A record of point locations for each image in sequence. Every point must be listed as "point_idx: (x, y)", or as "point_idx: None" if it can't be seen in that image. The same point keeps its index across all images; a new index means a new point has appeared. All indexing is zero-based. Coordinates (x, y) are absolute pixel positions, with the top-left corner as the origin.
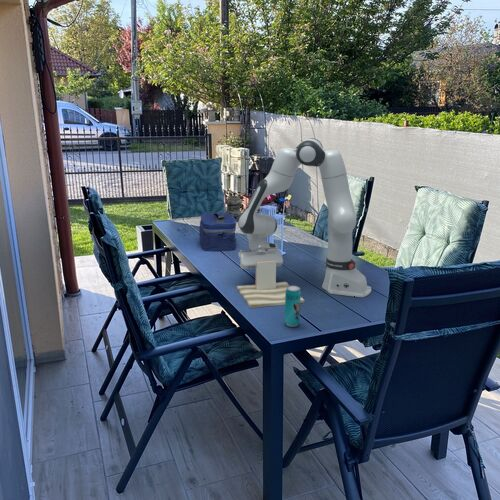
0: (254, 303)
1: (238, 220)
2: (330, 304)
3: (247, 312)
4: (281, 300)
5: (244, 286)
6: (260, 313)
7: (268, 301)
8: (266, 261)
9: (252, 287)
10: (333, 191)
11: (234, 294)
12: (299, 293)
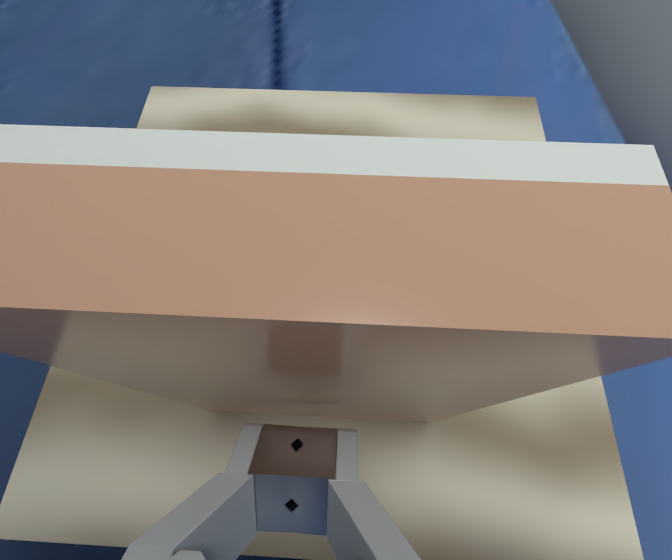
0: (503, 114)
1: None
2: (35, 55)
3: (552, 71)
4: (300, 114)
5: (547, 526)
6: (477, 48)
7: (396, 120)
8: (268, 176)
9: (455, 456)
10: None
11: (646, 383)
12: None
